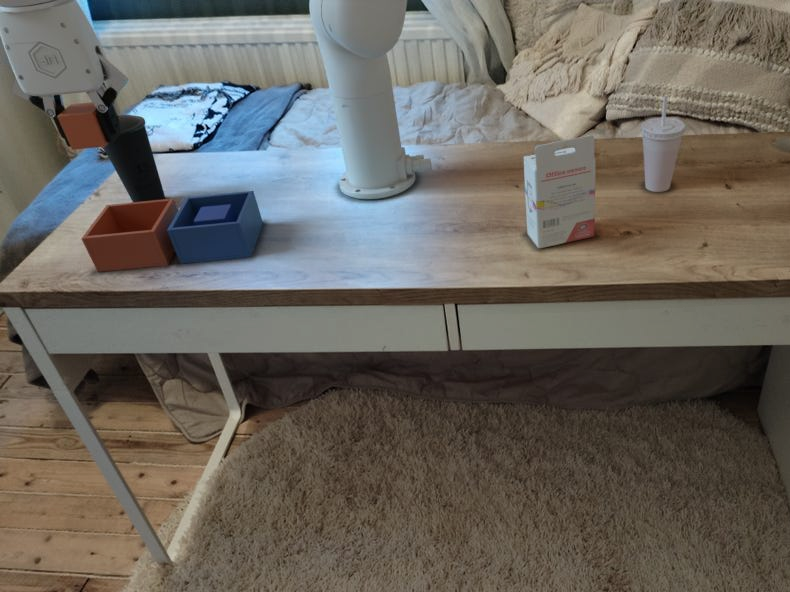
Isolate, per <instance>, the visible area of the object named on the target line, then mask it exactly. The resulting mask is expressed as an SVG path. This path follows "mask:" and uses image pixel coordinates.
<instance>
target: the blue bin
mask: <svg viewBox="0 0 790 592" xmlns="http://www.w3.org/2000/svg"><path fill="white" fill-rule="evenodd" d="M229 204H231V205H232V208H233V211H234V215H235V218H236V221H237V222H227V223H217V224H207V225H197V226H195V224H194V220H195V218H196V216H197V214H198V212H199V210H200V208H201V207H208V206H218V205H229ZM263 225H264V221H263V218H262V215H261V211H260V208H259V205H258V202H257V198H256V195H255V192H254V190H247V191H246V190H245V191H236V192H226V193H215V194H208V195H207V194H206V195H196V196H186V197H185V198H184V200H183V202H182V204H181V205H180V207H179V208H178V212H177V214H176V216H175V217H174V219H173V221H172V223H171V224H170V226H169V228H168V230H167V231H168V234H169V236H170V239H171V241H172V244H173V246H174V249H175V253H176V256H177V259H178V261H179V265H180V264H181V265H183V264H193V263H202V262H203V263H205V262H215V261H224V260H235V259H245V258H251V257H252V255H253V252H254V249H255V246H256V244H257V241H258V238H259V236H260V233H261V230H262V227H263Z"/></svg>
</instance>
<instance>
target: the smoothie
mask: <svg viewBox="0 0 790 592" xmlns="http://www.w3.org/2000/svg"><path fill="white" fill-rule="evenodd" d="M667 108H668V95H664V96H663V98H662V111H661V117H653V118H648V119H646V120H645V121H643V122H642V123H641V125H640V130H639V131H640V134H641V136H642V148H643V149H642V151H643V152H642V153H643V165H644V166H643V167H644V185H645V189H647V191H650V192H653V193H654V192H655V193H662V192H666V191H669V189H670V188H671V184H672V180H673V176H674V171H675V168H676V162H677V158H678V154H679V150H680V146H681V143H682V138H683V136H684V135H685V133H686V124H685V123H684V122H683V121H682V120H681V119H677V118H673V117H667Z"/></svg>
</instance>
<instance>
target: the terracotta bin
mask: <svg viewBox="0 0 790 592" xmlns="http://www.w3.org/2000/svg"><path fill="white" fill-rule="evenodd" d="M178 210H179V208H178V206H177V203H176V199H175V198H166V199H163V200H153V201H142V202H133V201H131V202H125V203H124V202H121V203H111V204H106V205H105V207H104V208H103V209H102V210H101V212H100V213H99V214H98V216H97V217H96V219H94V221H93V222H92V224H91V225H90V226H89V227H88V229H87V230H86V232H85V233H84V234H83V235H82V237H81V241H82V244H83V245H84V247H85V249H86V251H87V253H88V255H89V257H90V259H91V261H92V264H93V265H94V268H95V269H96V272H97V273H102V272H111V271H121V270H130V269H142V268H153V267H162V266H169V264H170V262H171V260H172V259H173V257H174V255H175V253H176V251H175V249H174V246H173V244H172V241H171V239H170V236H169V234H168V231H167V230H168V228H169V226H170V224H171V223H172V221H173V219H174V217H175V216H176V214H177V212H178Z"/></svg>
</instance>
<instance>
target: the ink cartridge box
mask: <svg viewBox="0 0 790 592" xmlns="http://www.w3.org/2000/svg"><path fill="white" fill-rule="evenodd" d="M596 162H597V159H596V158H595V137H594V135H592V134H588V135H585V136H580V137H574V138H568V139H563V140H558V141H557V140H556V141H553V142H549V143H544V144H538V145H536V146H535V147H534V154H531V155H525V156H524V155H523V171H524V172H523V175H524V194H525V195H524V196H525V215H526V232H527V233H526V234H527V236H528V237H529V238H530V240H531V241H532V242H533V244H535V246H536V248H538V249H543V248H548V247H552V246H553V247H554V246H557V245H561V244H565V243H571V242H575V241H580V240H584V239H588V238H592V237H594V236H595V223H596V222H595V221H596V220H595V219H596V218H595V217H596V216H595V215H596V169H597V168H596V167H597V165H596Z"/></svg>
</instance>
